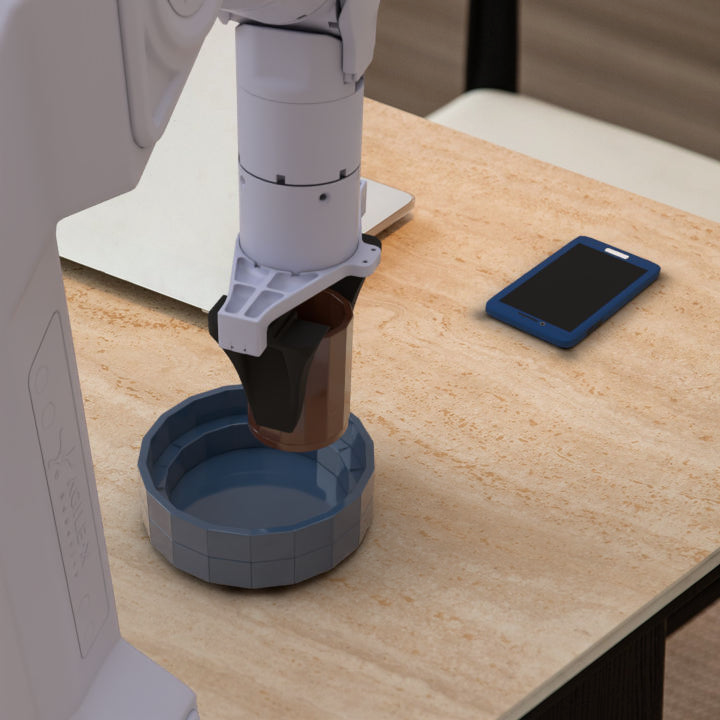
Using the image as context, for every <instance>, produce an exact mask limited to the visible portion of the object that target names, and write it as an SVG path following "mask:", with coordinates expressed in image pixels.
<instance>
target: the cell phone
mask: <svg viewBox="0 0 720 720" xmlns="http://www.w3.org/2000/svg"><path fill="white" fill-rule="evenodd" d="M661 270H662V267H661V266H660V265H659V264H658V263H656V262H653V261H651V260H649V259H646V258H644V257H641V256H639V255H636V254H634V253H631V252H629V251H626V250H624V249H621V248H619V247H616V246H613V245H611V244H609V243H606V242H605V241H601V240H598V239H595V238H593V237H590V236H588V235H578V236H576V237H575V238H573V239H572V240H571V241H569V242H567V243H566V244H564V246H562V247H560V248H559V249H557V250H556V251H554V252H553V253H552V254H551V255H549V256H548V257H546V258H545V259H544V260H542V261H541V262H539V263H538V264H537V265H535V266H534V267H532V268H531V269H529V270H528V271H527V272H525V273H524V274H523V275H521V276H520V277H518V278H517V279H516V280H514V281H512V282H511V283H510V284H508V285H507V286H505V287H504V288H502V289H501V290H500V291H499V292H497V293H496V294H494V295H493V296H492V297H490V298H488V300H487V301H486V303H485V308H484V311H485V314H487V315H488V316H490V317H492V318H494V319H496V320H498V321H500V322H503V323H505V324H507V325H510V326H511V327H514V328H516V329H519V330H521V331H523V332H525V333H527V334H529V335H532V336H534V337H536V338H538V339H540V340H543V341H545V342H547V343H549V344H551V345H554V346H557V347H560V348H564V349H568V348H572V347H574V346H576V345H577V344H579V343H580V342H581V341H582V340H583V339H585V338H586V337H587V336H588V335H590V334H591V333H592V332H593V331H595V330H596V329H597V328H598V327H599V326H601V325H602V324H603V323H604V322H606V321H607V320H608V319H609V318H611V316H613V315H614V314H615V313H616V312H618V311H619V310H620V309H621V308H622V307H624V306H626V304H628V303H629V302H630V301H631V300H633V298H635V297H636V296H637V295H639V294H640V293H641V292H643V291H644V290H645V289H646V288H648V286H650V285H651V284H652V283H653V282H654V281H656V279H658V278H659V277H660V274H661Z"/></svg>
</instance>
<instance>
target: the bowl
mask: <svg viewBox="0 0 720 720" xmlns="http://www.w3.org/2000/svg"><path fill="white" fill-rule="evenodd" d="M375 462H376V461H375V442H374V440H373V439H372V437H371V435H370V433H369V432H368V431H367V429H366V427H365V426H364V423H363V422H362V420H361V419H360V418H359V416H357V415H356V414H354V413H353V412H352V411H350V417H349V419H348V426H347V429H346V431H345V433H344V434H343V435H342V437H341V438H340V439H338V440H337V441H336V442H334V443H333V444H331V445H329V446H327V447H325V448H322V449H319V450H314V451H309V452H288V451H282V450H278V449H275V448H272V447H269V446H267V445H265V444H263V443H262V442H260V441H259V440H258V439H257V438H256V437H255V436H254V435H253V434H252V433H251V431H250V429H249V427H248V417H247V404H246V394H245V391H244V388H243V386H242V383H240V384H229V385H228V384H226V385H223V386H219V387H215V388H212V389H209V390H205V391H202V392H200V393H197V394H192V395H190V396H188V397H187V398H184V399H183V400H182V401H180V402H178V403H177V404H175V405H174V406H172V407H171V408H169V409H167V410H165V411H164V412H162V413H161V414H160V415H159V417H158V418H157V419H156V420H155V422H154V423H153V424H152V425H151V426H150V427H149V429H148V430H147V432H146V433H145V434H144V435H143V437H142V439H141V444H140V448H139V453H138V459H137V464H136V466H137V468H136V469H137V477H138V489H139V501H140V512H141V518H142V522H143V525H144V527H145V530H146V534H147V536H148V539H149V542H150V544H151V545H152V546H153V547H154V549H156V550H157V551H158V552H159V553H160V554H161V555H162V556H163V557H164V558H165V559H166V560H167V562H169V563H170V564H171V565H172V566H173V567H174V568H175V569H178V570H180V571H183V572H185V573H187V574H189V575H191V576H194V577H195V578H198V579H200V580H202V581H204V582H207V583H209V584H217V585H223V586H231V587H236V588H243V589H252V590H253V589H263V588H272V587H279V586H288V585H294V584H298V583H301V582H303V581H306V580H309V579H312V578H313V577H316V576H318V575H321V574H323V573H326V572H329V571H331V570H332V569H334V568H335V567H336V566H338V565H339V564H341V562H343V560H345V559H346V558H347V557H348V556H350V555H351V554H352V553H353V552H354V551H355V550H357V549H358V548H359V546H360V545H361V543H362V540H363V539H364V537H365V534H366V533H367V531H368V528H369V527H370V525H371V523H372V520H373V509H374V493H375V492H374V491H375V475H376V474H375V472H376V463H375Z"/></svg>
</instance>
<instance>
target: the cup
mask: <svg viewBox="0 0 720 720" xmlns="http://www.w3.org/2000/svg"><path fill="white" fill-rule="evenodd" d="M293 311H297V319H300V320H304V321H308V322H313V323H317V324H321V325H326V326H329V327H330V329H329V330H328V332H327V333H326V335H325V336H324V338H323V339H322V341H321V342H320V344H319V347H318V349H317V351H316V353H315V355H314V358H313V361H312V363H311V366H310V370H309V374H308V378H307V383H306V389H305V396H304V402H303V408H302V412H301V415H300V419H299V421H298V423H297V426H296V427H295V429H294V431H293V432H292V433H286V432H282V431H278V430H274V429H270V428H266V427H262V426H259V425H256V423H255V420H254V418H253V415H252V412H251V409H250V406H249V403H248V400H247V397H246V404H247V417H248V427H249V429H250V431H251V433H252V434H253V435H254V436H255V437H256V438H257V439H258V440H259V441H260V442H262V443H263V444H265V445H267V446H269V447H272V448H275V449H278V450H282V451H288V452H309V451H314V450H319V449H322V448H325V447H327V446H329V445H331V444H333V443H334V442H336V441H337V440H338V439H340V438H341V437H342V435H343V434H344V433H345V431H346V429H347V426H348V419H349V417H350V412H351V396H352V395H351V393H352V369H353V368H352V367H353V365H352V364H353V345H354V344H353V343H354V322H355V321H354V317H355V315H354V310H353V311H352V307H351V304H350V302H349V301H348V300H347V299H346V298H345V297H343V296H342V295H341V294H340V293H338V292H337V291H335V290H332V289H329V288H326V289H324V290H322V291H321V292H319V293H317V294H316V295H314V296H313V297H311V298H309V299H308V300H306V301H304V302H303V303H301V304H299V305H298V306H296V307H294V308H293V309H291V312H293Z"/></svg>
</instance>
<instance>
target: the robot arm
mask: <svg viewBox="0 0 720 720" xmlns="http://www.w3.org/2000/svg"><path fill="white" fill-rule="evenodd" d="M380 4H381V0H0V720H201V717H200V714H199V709H198V700H197V699H198V698H197V694H196V691H194V690H193V689H192V688H191V687H190V686H188V685H187V684H186V683H184V682H183V681H182V680H181V679H179V678H178V677H176V675H174V674H173V673H172V672H170V671H169V670H168V669H166V668H165V667H163V666H162V665H160V664H159V663H157V662H156V661H155V660H153V659H152V658H150V657H149V656H147V654H145V653H144V652H142V651H141V650H139V649H138V648H136V647H135V646H134V645H133V644H131V643H130V642H129V641H127V640H126V639H125V638H124V637H123V636H122V635H121V627H120V621H119V616H118V610H117V609H118V608H117V604H116V603H117V602H116V597H115V591H114V586H113V579H112V574H111V573H112V572H111V566H110V560H109V555H108V548H107V543H106V536H105V530H104V524H103V518H102V511H101V504H100V498H99V493H98V486H97V482H96V474H95V473H96V472H95V468H94V460H93V455H92V448H91V442H90V437H89V431H88V423H87V418H86V412H85V406H84V400H83V394H82V388H81V381H80V375H79V368H78V363H77V357H76V350H75V345H74V344H75V343H74V337H73V331H72V326H71V320H70V313H69V307H68V301H67V295H66V288H65V283H64V276H63V270H62V265H61V258H60V251H59V245H58V239H57V228H58V227H57V225H58V223H59V222H60V221H62V220H63V219H65V218H68V217H70V216H72V215H75V214H78V213H80V212H83V211H85V210H88V209H90V208H92V207H95V206H97V205H100V204H103V203H105V202H107V201H109V200H110V201H111V200H112V199H114V198H117V197H119V196H122V195H125V194H127V193H129V192H132V191H133V190H135V189H136V188H137V186H138V185H139V183H140V181H141V179H142V176H143V173H144V171H145V169H146V167H147V164H148V162H149V160H150V158H151V156H152V153H153V151H154V150H155V149H154V148H155V147H156V144H157V143H158V141H159V140H161V138H162V137H163V135H164V134H165V132H166V129H167V127H168V125H169V122H170V121H171V118H172V116H173V113H174V111H175V109H176V106H177V104H178V102H179V100H180V97H181V95H182V93H183V90H184V88H185V86H186V83H187V81H188V80H189V79H188V78H189V77H190V75H191V73H192V69H193V68H194V65H195V63H196V61H197V58H198V57H199V53H200V51H201V49H202V47H203V44H204V42H205V40H206V38H207V37H208V35H209V34H210V32H211V31H212V29H213V26H214V25H215V23H216V21H217V18H218V20H219V21H220V23H221V25H223V26H227V25H228V23H229V21H232V22H236V23H237V25H236V26H235V27H234V41H235V42H234V45H235V78H236V79H235V80H236V84H235V85H236V121H237V124H236V125H237V126H236V127H237V174H238V215H239V216H238V217H239V218H238V219H239V232H238V233H237V235H236V238H235V244H234V251H233V256H232V257H233V259H232V265H231V271H230V279H229V286H228V292H227V294H222V295H221V297H220V298H219V299H218V300H217V301H216V302H215V303H214V305H213V306H212V307H211V308H210V309H209V311H208V313H207V330H208V335H210V336H211V337H212V339H213V340H214V341H215V342H216V344H217V345H218V347H219V348H220V349H222V351H223V352H224V353H225V355H226V357H228V359H229V360H230V362H231V364H232V365H233V367H234V369H235V371H236V373H237V375H238V378H239V380H240V384H242V386H243V388H244V391H245V394H246V397H247V400H248V403H249V406H250V409H251V412H252V415H253V418H254V420H255V423H256V425H259V426H262V427H266V428H270V429H274V430H278V431H282V432H286V433H292V432H293V431H294V429H295V427H296V426H297V423H298V421H299V419H300V415H301V412H302V408H303V402H304V396H305V389H306V383H307V378H308V374H309V370H310V366H311V363H312V361H313V358H314V355H315V353H316V351H317V349H318V347H319V344H320V342H321V341H322V339H323V338H324V336H325V335H326V333H327V332H328V330H329V329H330V327H329V326H326V325H321V324H317V323H313V322H308V321H304V320H300V319H297V311H293V312H291V309H293V308H294V307H296V306H298V305H299V304H301V303H303V302H304V301H306V300H308V299H309V298H311V297H313V296H314V295H316V294H317V293H319V292H321V291H322V290H324V289H326V288H329V289H332V290H335V291H337V292H338V293H340V294H341V295H342V296H343V297H345V298H346V299H347V300H348V301H349V302H350V304H351V307H352V311H353V312H354V310H355V307H356V304H357V300H358V298H359V295H360V292H361V290H362V288H363V286H364V284H365V281H366V278H367V277H371V276H372V275H373V274H374V273H375V272H376V270H377V268H378V267H379V265H380V264H381V259H382V251H383V243H382V241H381V239H379V238H378V237H377V236H374V235H371V234H368V233H363V231H362V230H363V229H362V219H363V217H364V215H365V214H366V212H367V194H368V193H367V191H368V181H367V180H366V179H361V175H362V174H361V173H362V172H361V169H362V150H363V149H362V148H363V147H362V146H363V145H362V144H363V125H364V123H363V121H364V101H365V100H364V97H365V77H366V76H365V73H366V70H367V68H368V67H369V66H370V64H371V63H372V62H373V58H374V51H375V46H376V38H377V37H376V36H377V24H378V23H377V22H378V14H379V7H380Z"/></svg>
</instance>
